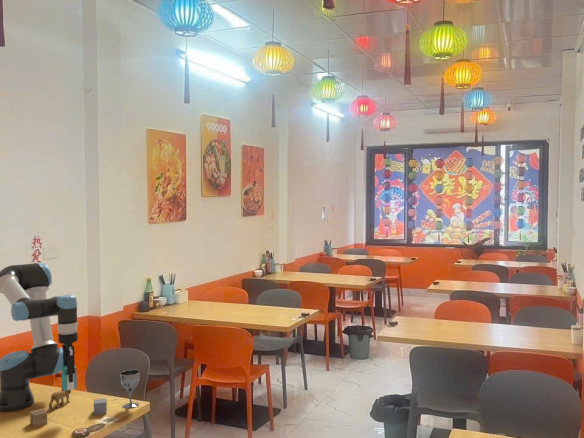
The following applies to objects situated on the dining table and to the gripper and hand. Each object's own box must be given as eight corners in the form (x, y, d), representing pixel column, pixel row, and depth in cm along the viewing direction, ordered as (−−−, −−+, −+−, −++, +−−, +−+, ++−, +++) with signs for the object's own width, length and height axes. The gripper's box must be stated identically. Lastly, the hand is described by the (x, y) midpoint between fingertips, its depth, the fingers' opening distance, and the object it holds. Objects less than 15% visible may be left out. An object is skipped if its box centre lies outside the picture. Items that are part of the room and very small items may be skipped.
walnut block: (30, 423, 222) (30, 411, 222) (43, 420, 225) (42, 408, 225) (34, 427, 218) (33, 415, 218) (47, 423, 222) (46, 411, 221)
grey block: (94, 411, 235) (94, 399, 234) (106, 409, 236) (106, 398, 236) (93, 415, 230) (93, 403, 230) (106, 413, 231) (106, 402, 231)
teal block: (62, 387, 228) (61, 366, 228) (74, 385, 231) (74, 364, 230) (64, 391, 224) (63, 369, 223) (76, 388, 226) (76, 367, 226)
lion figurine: (63, 398, 250) (63, 379, 249) (74, 399, 249) (73, 379, 249) (45, 411, 235) (45, 390, 235) (57, 411, 235) (56, 391, 234)
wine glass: (128, 401, 245) (127, 368, 244) (143, 403, 242) (142, 370, 242) (117, 408, 237) (116, 374, 237) (133, 409, 235) (132, 375, 234)
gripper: (81, 335, 221) (83, 391, 221) (73, 327, 236) (74, 379, 237) (62, 338, 217) (63, 395, 217) (54, 329, 232) (56, 383, 233)
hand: (69, 387), depth 227 cm, fingers closed on teal block, 5 cm apart
